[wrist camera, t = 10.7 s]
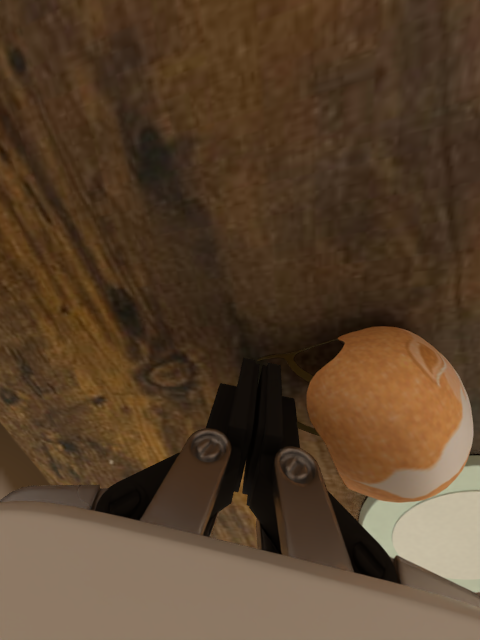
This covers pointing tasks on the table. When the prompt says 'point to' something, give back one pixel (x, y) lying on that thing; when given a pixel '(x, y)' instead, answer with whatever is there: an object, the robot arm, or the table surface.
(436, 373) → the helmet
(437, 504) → the plate
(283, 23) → the table surface
